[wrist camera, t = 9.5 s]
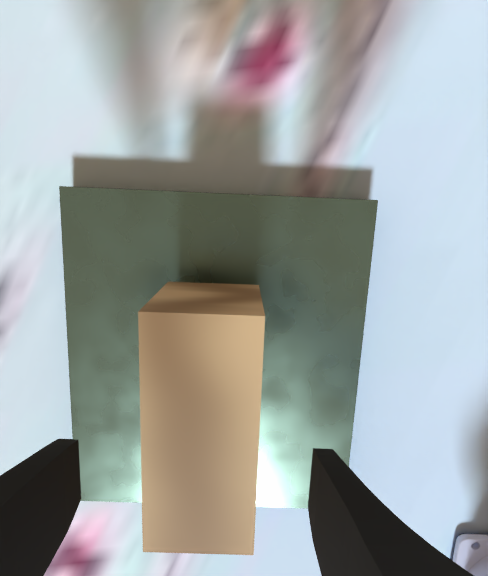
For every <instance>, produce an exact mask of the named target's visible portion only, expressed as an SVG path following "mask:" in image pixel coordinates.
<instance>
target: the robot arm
mask: <svg viewBox="0 0 488 576" xmlns="http://www.w3.org/2000/svg"><path fill="white" fill-rule="evenodd" d="M80 500H81V482H80V461H79V441H78V440H77V439H57V440H56V441H54V442H52V443H50V444H49V445H47V446H46V447H44V448H42V449H41V450H39V451H38V452H36V453H35V454H33V455H32V456H30V457H29V458H27V459H26V460H24V461H22V462H21V463H19V464H18V465H16V466H15V467H13V468H12V469H10V470H8V471H7V472H5V473H4V474H2V475H1V476H0V576H43V575H44V574H45V572H46V570H47V568H48V566H49V565H50V563H51V561H52V559H53V557H54V556H55V554H56V552H57V550H58V548H59V547H60V545H61V543H62V541H63V539H64V537H65V535H66V534H67V532H68V529H69V527H70V525H71V522H72V520H73V518H74V515H75V513H76V510H77V507H78V505H79V502H80ZM308 511H309V518H310V525H311V532H312V538H313V543H314V547H315V551H316V555H317V559H318V563H319V567H320V571H321V574H322V576H488V535H482V534H462V535H460V536H458V537H457V540H456V544H455V549H454V555H453V560H451V559H449V558H448V557H446V556H445V555H443V554H442V553H441V552H439V551H438V550H437V549H435V548H434V547H433V546H431V545H430V544H429V543H428V542H426V541H425V540H424V539H423V538H422V537H420V536H419V535H418V534H417V533H415V532H414V531H413V530H412V529H410V528H409V527H408V526H407V525H406V524H405V523H403V522H402V521H401V520H400V519H399V518H398V517H397V516H396V515H395V514H394V513H393V512H392V511H390V510H389V509H388V508H387V507H386V506H385V505H384V504H383V503H382V502H381V501H380V500H379V499H378V498H377V497H376V496H375V495H374V494H373V493H372V492H371V491H370V490H369V489H368V488H367V487H366V486H365V485H364V484H363V482H362V481H361V480H360V479H359V478H358V477H357V476H356V475H355V474H354V472H353V471H352V470H351V469H350V468H349V467H348V466H347V465H346V463H345V462H344V461H343V460H342V459H341V458H340V457H339V455H338V454H337V453H336V452H335V451H334V450H333V449H321V448H313V453H312V465H311V476H310V487H309V499H308ZM473 543H474V544H473Z"/></svg>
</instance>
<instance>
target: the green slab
mask: <svg viewBox="0 0 488 576" xmlns="http://www.w3.org/2000/svg"><path fill="white" fill-rule="evenodd" d="M59 189H60V208H61V226H62V245H63V264H64V283H65V302H66V320H67V339H68V358H69V377H70V396H71V414H72V433H73V439H77V440H78V441H79V461H80V482H81V500H80V501H105V502H134V503H142V478H141V428H140V378H139V328H138V311H139V310H140V309H141V308H142V307H143V306H144V305H145V304H146V303H147V302H148V301H149V300H150V299H151V298H152V297H153V296H154V295H155V294H156V293H157V292H158V291H159V290H160V289H161V288H162V287H163V286H164V285H165V284H166V283H167V282H191V283H219V284H248V285H259V288H260V293H261V298H262V303H263V308H264V313H265V330H264V351H263V371H262V391H261V411H260V432H259V452H258V472H257V492H256V507H278V508H307V509H308V499H309V487H310V476H311V465H312V453H313V448H321V449H333V450H334V451H335V452H336V453H337V454H338V455H339V457H340V458H341V459H342V460H343V461H344V462H345V463H346V465H347V466H348V467H349V458H350V449H351V440H352V431H353V422H354V413H355V404H356V395H357V385H358V376H359V367H360V358H361V349H362V340H363V331H364V322H365V313H366V304H367V295H368V286H369V277H370V267H371V258H372V249H373V240H374V231H375V222H376V213H377V204H378V200H361V199H338V198H315V197H292V196H270V195H247V194H224V193H201V192H178V191H155V190H132V189H109V188H86V187H63V186H59Z"/></svg>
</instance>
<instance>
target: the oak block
mask: <svg viewBox="0 0 488 576" xmlns="http://www.w3.org/2000/svg"><path fill="white" fill-rule="evenodd" d="M138 328H139V378H140V428H141V478H142V528H143V552H165V553H200V554H236V555H253V553H254V533H255V513H256V492H257V472H258V452H259V432H260V411H261V391H262V371H263V351H264V330H265V313H264V308H263V303H262V298H261V293H260V288H259V285H248V284H219V283H191V282H167V283H166V284H165V285H164V286H163V287H162V288H161V289H160V290H159V291H158V292H157V293H156V294H155V295H154V296H153V297H152V298H151V299H150V300H149V301H148V302H147V303H146V304H145V305H144V306H143V307H142V308H141V309H140V310H139V311H138Z"/></svg>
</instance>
